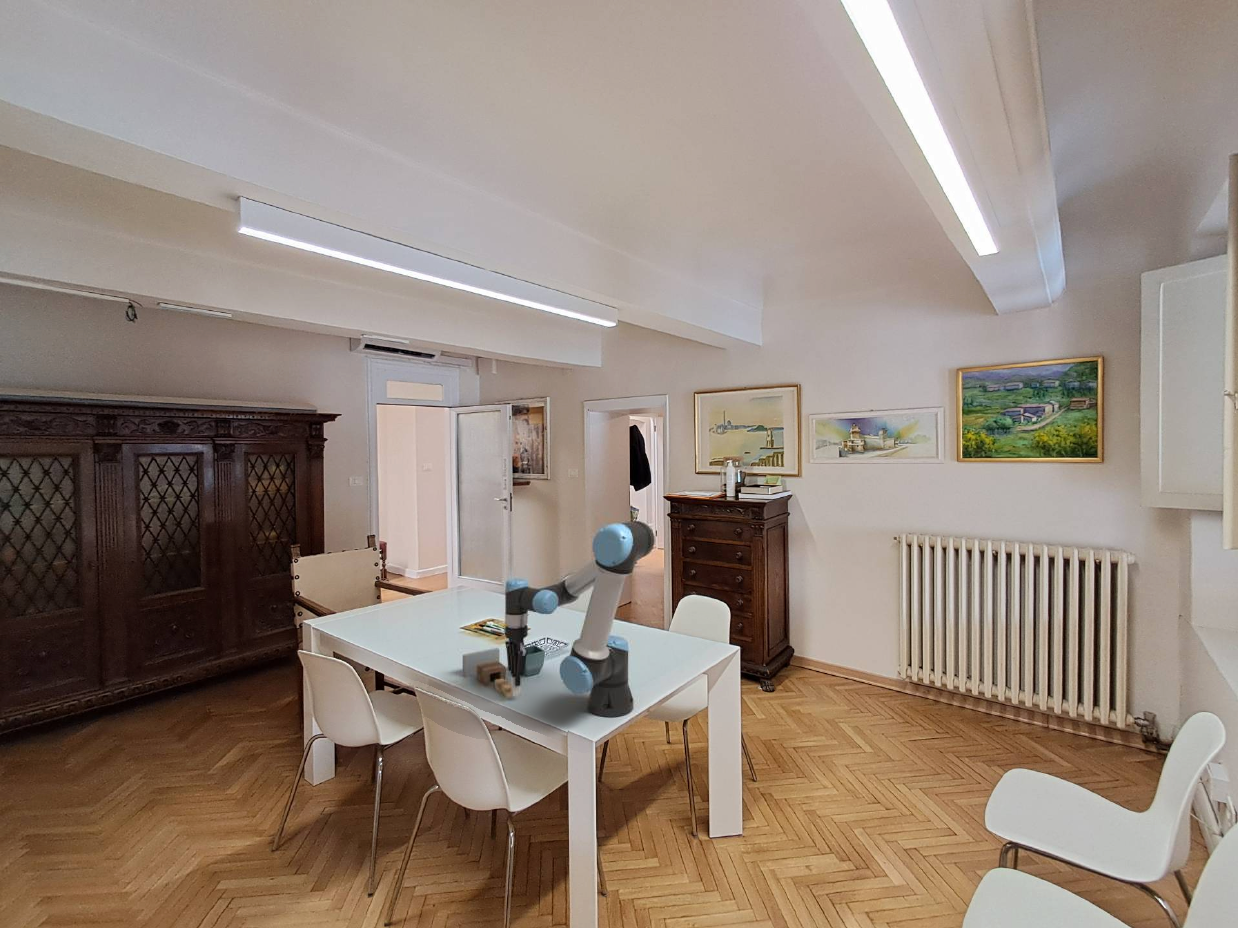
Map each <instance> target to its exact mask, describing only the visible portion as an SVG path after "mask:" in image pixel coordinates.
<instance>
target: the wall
mask: <svg viewBox="0 0 1238 928" xmlns="http://www.w3.org/2000/svg"><path fill="white" fill-rule="evenodd" d="M496 660H497V661H498V662H500V648H498V647H494V648H490V649H485V650H481V651H475V652H469V653H465V654H462V677H463V678H469V677H473V676H477V665H478V664H482V663H487V662H492V661H496Z"/></svg>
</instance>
